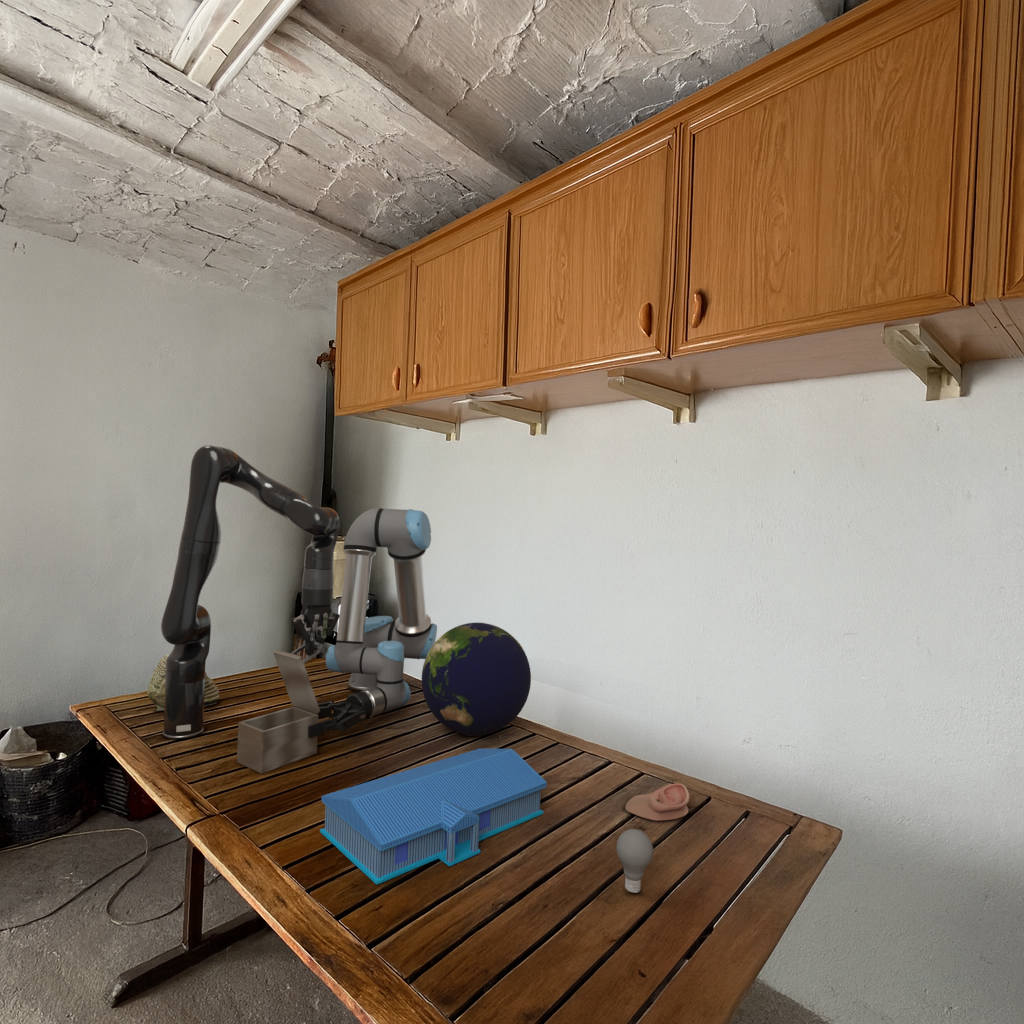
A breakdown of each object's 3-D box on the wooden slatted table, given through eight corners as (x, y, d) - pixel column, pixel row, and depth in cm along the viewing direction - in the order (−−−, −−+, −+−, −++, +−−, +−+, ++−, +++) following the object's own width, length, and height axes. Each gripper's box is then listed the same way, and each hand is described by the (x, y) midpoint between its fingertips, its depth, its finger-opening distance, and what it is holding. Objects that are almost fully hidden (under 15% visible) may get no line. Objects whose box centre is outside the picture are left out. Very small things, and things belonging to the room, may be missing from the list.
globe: (398, 740, 166) (402, 626, 165) (451, 707, 194) (455, 609, 193) (502, 762, 155) (508, 640, 154) (543, 724, 182) (548, 620, 182)
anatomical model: (625, 797, 130) (626, 774, 142) (624, 816, 131) (626, 791, 142) (692, 806, 128) (688, 782, 139) (691, 826, 128) (687, 800, 139)
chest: (261, 773, 143) (263, 732, 143) (236, 762, 149) (238, 722, 149) (317, 753, 156) (318, 714, 156) (292, 743, 161) (293, 706, 161)
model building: (386, 894, 102) (389, 832, 102) (318, 830, 120) (320, 778, 120) (555, 819, 128) (557, 770, 128) (478, 776, 146) (480, 733, 146)
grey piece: (297, 659, 150) (327, 638, 157) (273, 652, 155) (303, 632, 163) (316, 713, 155) (345, 691, 163) (292, 705, 161) (320, 683, 168)
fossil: (144, 707, 182) (145, 655, 182) (212, 696, 194) (213, 647, 194) (151, 716, 175) (153, 662, 175) (221, 703, 188) (223, 653, 188)
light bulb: (610, 879, 108) (613, 822, 108) (644, 879, 109) (647, 822, 109) (619, 902, 102) (622, 840, 102) (655, 901, 103) (658, 840, 103)
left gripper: (304, 590, 152) (300, 661, 152) (349, 585, 163) (345, 652, 164) (285, 586, 156) (281, 656, 156) (329, 582, 168) (326, 647, 168)
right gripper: (392, 727, 169) (324, 753, 150) (336, 709, 181) (267, 731, 163) (393, 700, 168) (325, 722, 150) (337, 683, 181) (268, 702, 162)
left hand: (314, 654), depth 160 cm, fingers closed on grey piece, 2 cm apart
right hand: (295, 726), depth 156 cm, fingers closed on chest, 10 cm apart
